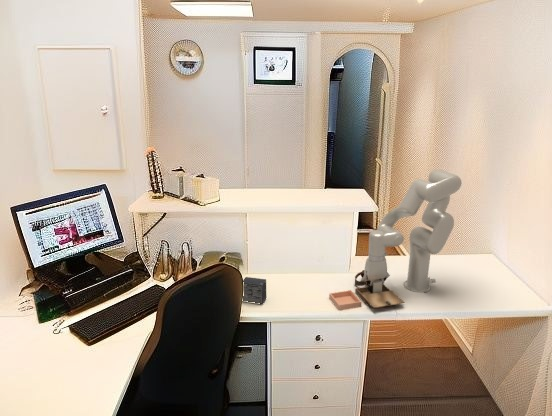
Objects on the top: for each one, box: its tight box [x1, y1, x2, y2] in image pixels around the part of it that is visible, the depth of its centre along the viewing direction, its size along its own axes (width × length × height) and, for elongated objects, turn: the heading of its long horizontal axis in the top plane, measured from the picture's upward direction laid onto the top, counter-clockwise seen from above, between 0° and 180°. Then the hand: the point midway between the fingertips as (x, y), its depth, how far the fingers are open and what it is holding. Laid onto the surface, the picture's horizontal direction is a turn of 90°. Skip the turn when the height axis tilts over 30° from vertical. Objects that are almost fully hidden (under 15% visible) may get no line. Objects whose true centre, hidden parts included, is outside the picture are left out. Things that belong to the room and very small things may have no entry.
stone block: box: [372, 279, 382, 294], centre depth 204 cm, size 4×4×6 cm
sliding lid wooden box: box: [354, 283, 405, 309], centre depth 200 cm, size 16×19×4 cm
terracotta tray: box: [328, 289, 363, 311], centre depth 199 cm, size 11×11×3 cm
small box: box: [242, 276, 268, 305], centre depth 201 cm, size 11×6×10 cm, turn 74°
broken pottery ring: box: [354, 269, 368, 287], centre depth 216 cm, size 12×10×8 cm
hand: (375, 290), depth 205 cm, fingers closed on stone block, 4 cm apart
